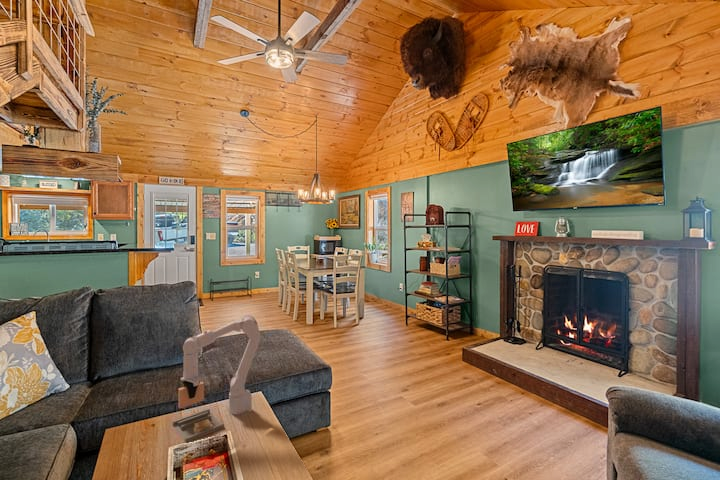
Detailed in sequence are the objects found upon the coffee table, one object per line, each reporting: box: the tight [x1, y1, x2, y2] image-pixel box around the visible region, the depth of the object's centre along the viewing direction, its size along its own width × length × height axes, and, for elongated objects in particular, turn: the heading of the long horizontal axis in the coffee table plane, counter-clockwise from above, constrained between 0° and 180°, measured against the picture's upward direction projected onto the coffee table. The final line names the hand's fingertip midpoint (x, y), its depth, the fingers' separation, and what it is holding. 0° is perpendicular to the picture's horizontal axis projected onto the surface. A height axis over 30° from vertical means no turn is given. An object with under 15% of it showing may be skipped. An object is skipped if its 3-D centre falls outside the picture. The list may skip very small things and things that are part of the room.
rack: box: [172, 408, 225, 444], centre depth 142 cm, size 15×17×2 cm
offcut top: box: [195, 419, 210, 431], centre depth 139 cm, size 5×4×2 cm
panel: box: [177, 381, 205, 409], centre depth 148 cm, size 10×2×8 cm, turn 135°
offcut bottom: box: [194, 423, 213, 433], centre depth 139 cm, size 6×4×2 cm, turn 142°
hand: (191, 396), depth 148 cm, fingers closed on panel, 2 cm apart
